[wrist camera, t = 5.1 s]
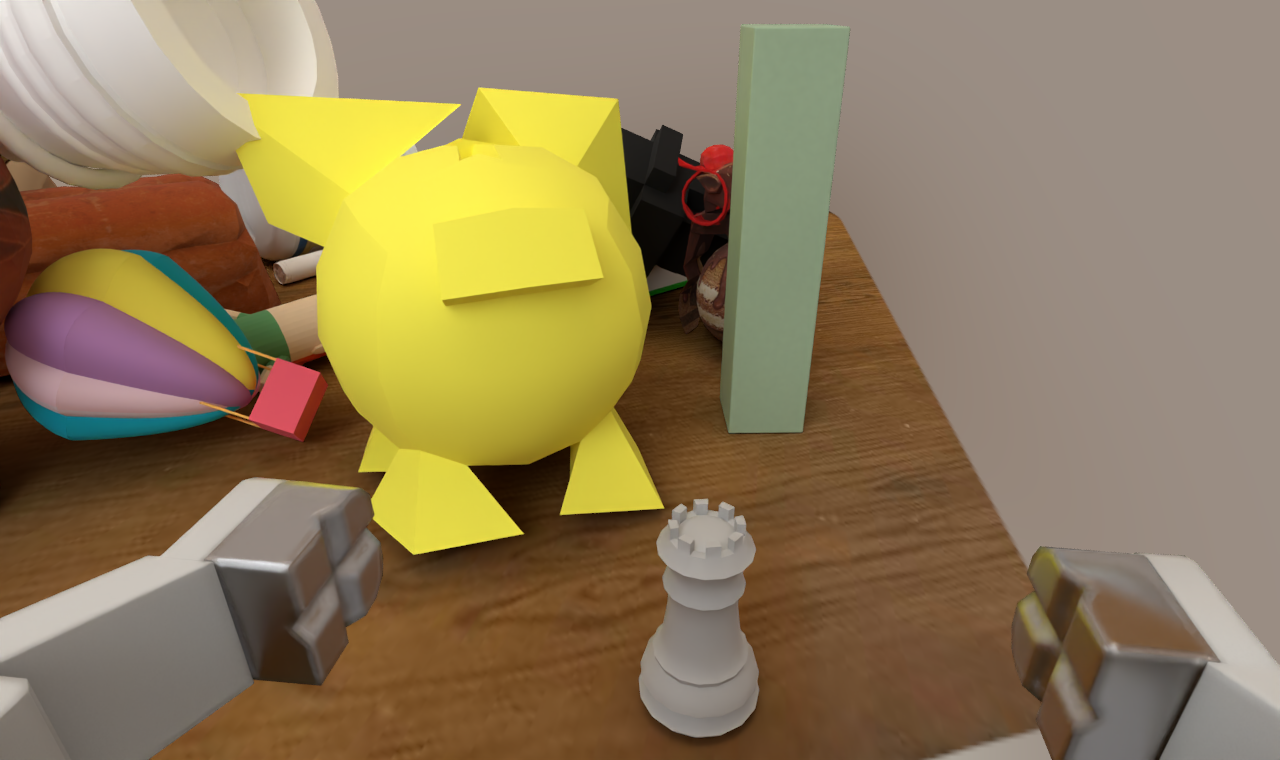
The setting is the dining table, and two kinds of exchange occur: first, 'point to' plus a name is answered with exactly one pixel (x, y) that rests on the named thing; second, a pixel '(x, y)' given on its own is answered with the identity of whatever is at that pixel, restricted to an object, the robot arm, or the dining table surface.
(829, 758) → the dining table surface
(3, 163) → the terracotta clay pot
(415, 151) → the supplement tub
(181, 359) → the hot air balloon
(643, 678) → the rook chess piece
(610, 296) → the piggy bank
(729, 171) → the cherry-topped chocolate cake
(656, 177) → the toy
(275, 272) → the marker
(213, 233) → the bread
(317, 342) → the toy figurine
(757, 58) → the pillar
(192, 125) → the white ridged vase
